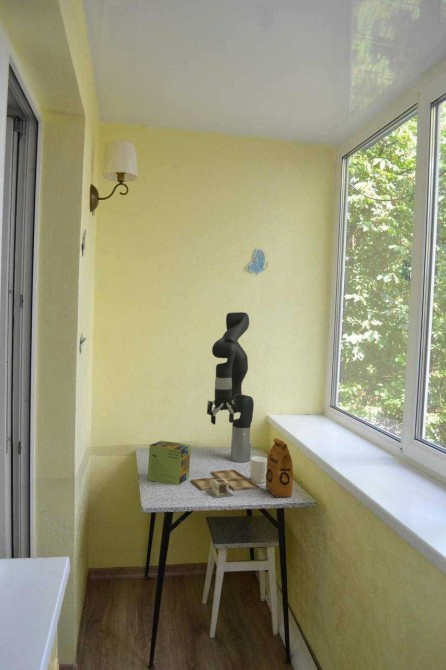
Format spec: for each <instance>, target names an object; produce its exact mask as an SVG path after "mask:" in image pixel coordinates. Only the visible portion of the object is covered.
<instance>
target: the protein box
mask: <svg viewBox="0 0 446 670" xmlns="http://www.w3.org/2000/svg"><path fill="white" fill-rule="evenodd" d="M191 448H192V447H191V444H187V443H181V442H180V443H179V442H174V441H167V440H159V441H156V442H154V443H152V444H149V450H148V465H147V466H148V467H147V468H148V470H147V481H151V482H156V483H158V482H159V483H166V484H169V485H170V484H171V485H178V486H180V485H181V484H183V483H185V482H187V480H189V479H190V463H191Z"/></svg>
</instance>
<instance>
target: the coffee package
mask: <svg viewBox="0 0 446 670" xmlns="http://www.w3.org/2000/svg"><path fill="white" fill-rule="evenodd" d="M273 442H274V443H273V445H272V446H271V448H270V451H269V452H268V454H267V457H266V458H267V472H266V482H265V488H266V489H267V490H268V491H269V492H271V494H272V495H274V496H275V497H277V498H279V497H280V498H289V497H293V484H294V483H293V482H294V469H293V468H294V467H293V459H292V456H291V454H290V450H289V447H288V444H287V443H286V442H285V441H284V440H282V439H279V438H277V437H275V438H273Z"/></svg>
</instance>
